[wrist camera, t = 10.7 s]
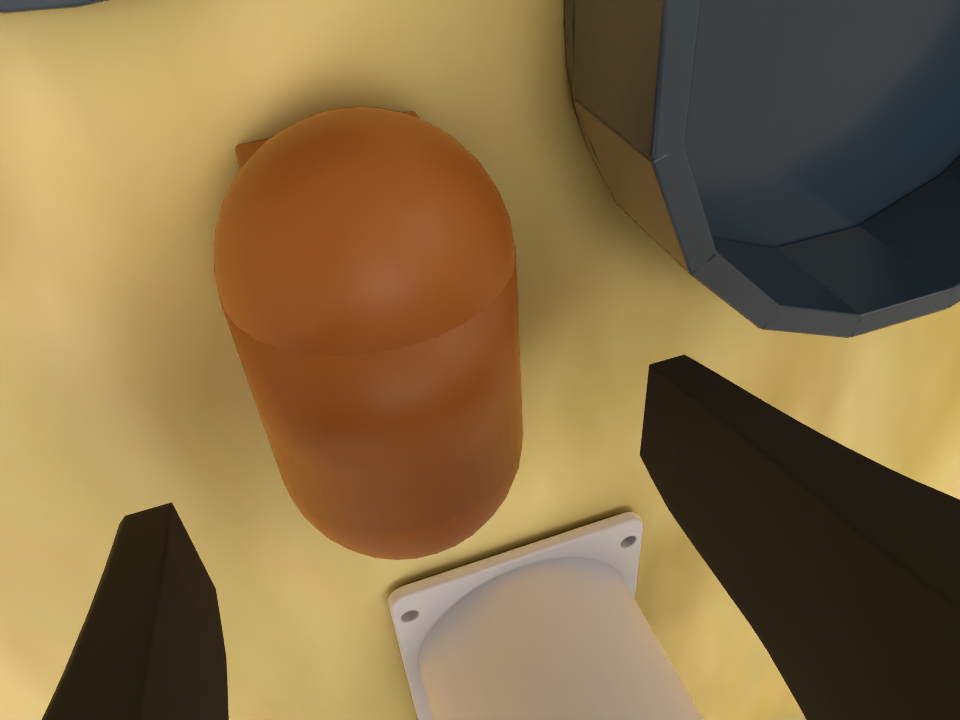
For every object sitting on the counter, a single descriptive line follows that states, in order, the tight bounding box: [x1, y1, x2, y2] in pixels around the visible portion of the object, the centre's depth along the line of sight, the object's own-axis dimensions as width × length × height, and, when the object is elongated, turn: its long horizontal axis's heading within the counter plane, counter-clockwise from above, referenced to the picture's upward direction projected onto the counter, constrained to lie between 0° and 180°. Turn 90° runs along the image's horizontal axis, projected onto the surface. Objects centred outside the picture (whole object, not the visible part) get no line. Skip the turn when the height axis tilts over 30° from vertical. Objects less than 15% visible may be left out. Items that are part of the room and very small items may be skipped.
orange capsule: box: [214, 107, 523, 560], centre depth 14 cm, size 9×5×5 cm, turn 4°
